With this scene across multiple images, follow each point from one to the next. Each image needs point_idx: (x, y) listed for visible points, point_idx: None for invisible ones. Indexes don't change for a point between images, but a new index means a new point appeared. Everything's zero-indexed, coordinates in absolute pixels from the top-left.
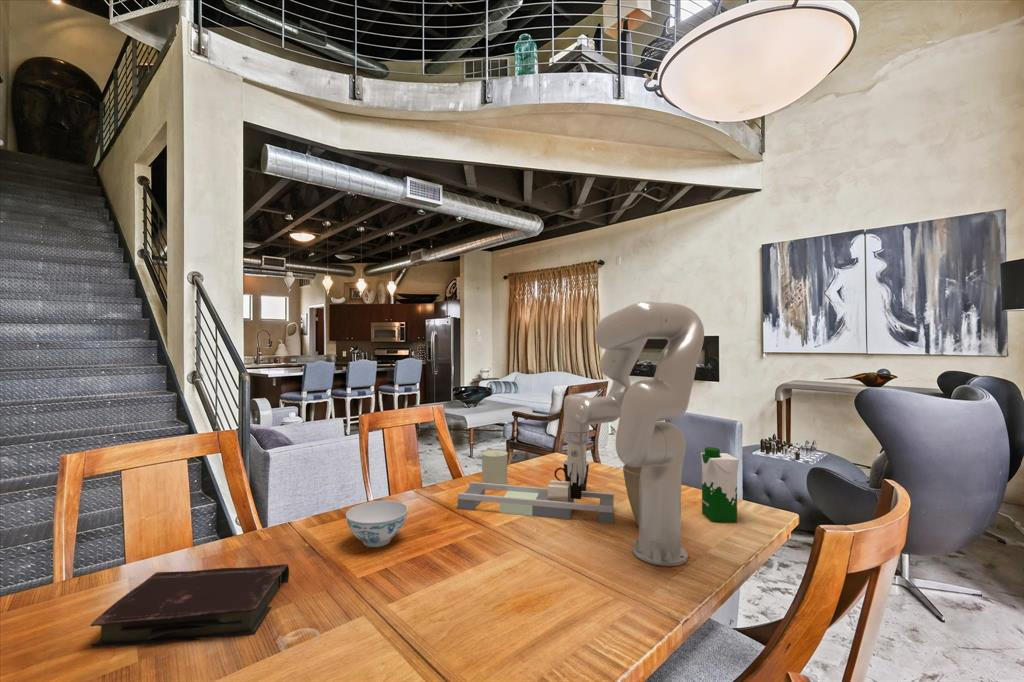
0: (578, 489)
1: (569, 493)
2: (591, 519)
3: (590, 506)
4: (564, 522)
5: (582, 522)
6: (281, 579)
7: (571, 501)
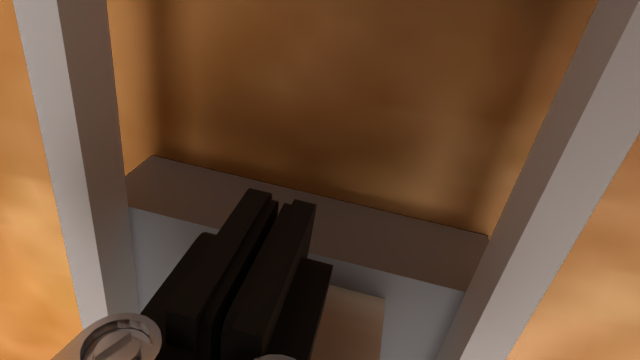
0: (277, 315)
1: None
2: (504, 45)
3: (633, 126)
4: None
5: None
6: None
7: None
